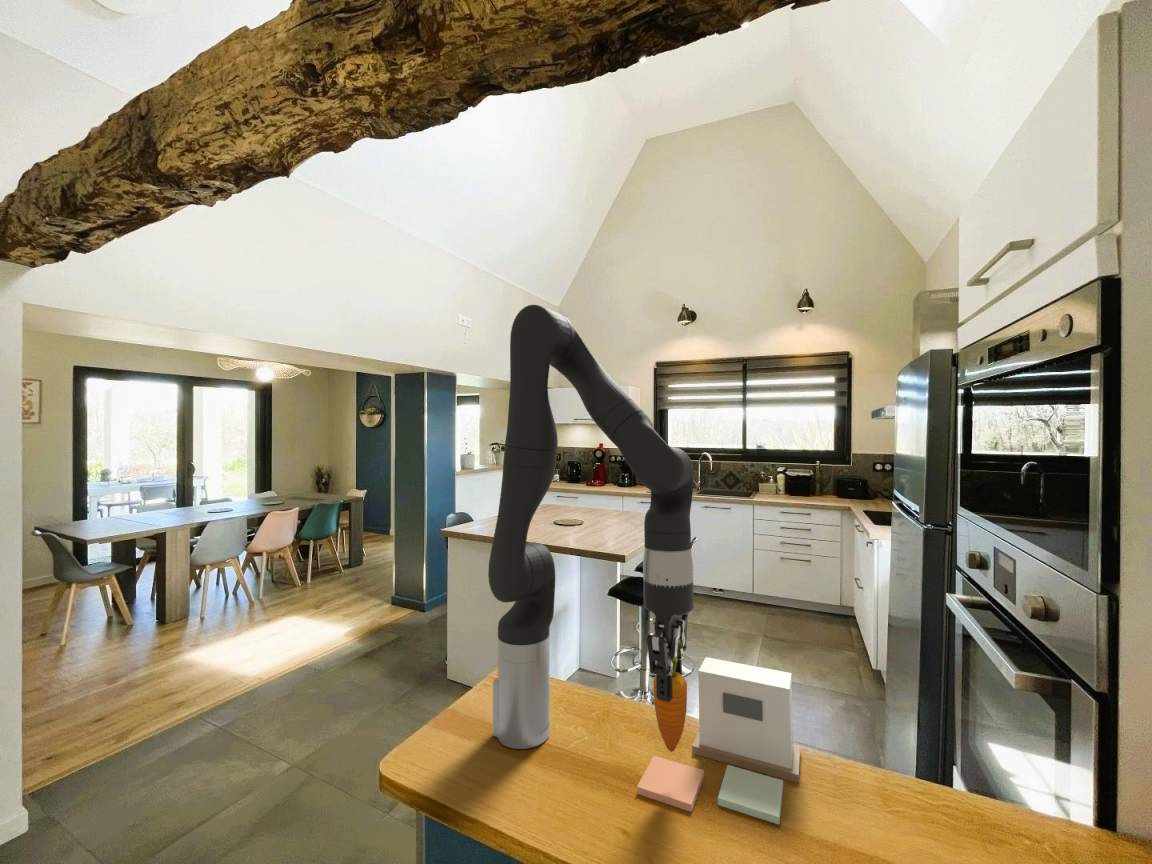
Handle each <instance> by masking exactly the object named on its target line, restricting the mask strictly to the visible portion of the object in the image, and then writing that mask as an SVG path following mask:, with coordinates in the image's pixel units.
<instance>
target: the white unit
mask: <svg viewBox="0 0 1152 864" xmlns="http://www.w3.org/2000/svg"><path fill="white" fill-rule="evenodd" d="M697 674H698V722H699V723H698V725H699V726H698V727H699V728H698V731H697V734H696V736H695V737H694V738H695V739H694V740H693V743H692V744H691V745H692V746H691V752H692V754H693V755H697V756H701V757H704V758H708V759H711V760H715V761H718V762H721V763H725V764H727V765H731V766H735V767H738V768H742V769H743V768H744V769H745V770H749V771H752V772H756V773H759V774H763V775H766V776H770V777H771V776H772V777H774V778H777V779H781V780H786V781H789V782H793V783H796V784H799V781H800V767H801V764H800V763H801V745H798V744H795V743H794V728H793V727H794V726H793V725H794V724H793V723H794V720H793V719H794V718H793V716H794V715H793V681H792V679H793V678H792V677H793V676H792V672H787V671H782V670H777V669H772V668H771V669H770V668H765V667H761V666H755V665H750V664H746V663H739V662H733V661H729V660H724V659H718V658H713V657H712V658H711V657H707V656H705V658H704V660H703V662H702V663H701V665H700V667H699V669H698V673H697ZM792 745H794V746H797V747H793V746H792ZM798 747H800V748H798Z"/></svg>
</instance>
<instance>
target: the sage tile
mask: <svg viewBox="0 0 1152 864" xmlns="http://www.w3.org/2000/svg"><path fill="white" fill-rule="evenodd" d="M783 792H784V779H781V778H777V777H774V776H772V777H771V776H770V775H767V774H763V773H759V772H756V771H752V770H749V769H745V768H744V769H743V768H742V767H738V766H735V765H731V764H727V765H726V768H725V773H724V776H723V780H722V782H721V786H720V789H719V792H718V796H717V806H720V807H723V808H726V809H729V810H732V811H736V812H738V813H742V814H744V815H748V816H751V817H755V818H757V819H760V820H763V821H765V822H769V823H773V824H776V825H778V826H779V825H780V824H781V823H780V822H781V815H782V814H781V811H782V805H783V802H782V801H783V794H784V793H783Z"/></svg>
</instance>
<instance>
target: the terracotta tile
mask: <svg viewBox="0 0 1152 864" xmlns="http://www.w3.org/2000/svg"><path fill="white" fill-rule="evenodd" d="M704 778H705V770H704V769H700V768H698V767H693V766H691V765H686V764H683V763H681V762H678V761H677V762H676V761H674V760H670V759H668V758H667V759H666V758H664V757H660V756H656V755H653V756H652V758H651V760H650V762H649V763H648V765H647V767H646V769H645V771H644V773H643V774H642V777H641V778H640V780H639V782H638V784H637V786H636V794H637V795H641V796H643V797H645V798H649V799H651V800H655V801H657V802H661V803H663V804H667V805H670V806H672V807H676V808H678V809H682V810H684V811H687V812H690V813H692V812H693V810H694V808H695V804H696V801H697V799H698V796H699V793H700V790H701V787H702V784H703V782H704Z"/></svg>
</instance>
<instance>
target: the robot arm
mask: <svg viewBox="0 0 1152 864" xmlns="http://www.w3.org/2000/svg"><path fill="white" fill-rule="evenodd" d="M509 337H510V340H509V341H510V342H509V363H510V364H509V365H510V367H509V369H510V370H509V371H510V373H509V375H510V378H509V379H510V380H509V381H510V382H509V384H510V385H509V398H508V399H509V400H508V410H507V411H508V412H507V426H506V435H505V442H504V451H503V461H502V478H501V486H500V487H501V488H500V495H499V496H500V497H499V504H498V513H497V518H496V523H495V524H496V525H495V529H494V533H493V539H492V544H491V549H490V555H489V561H488V574H487V575H488V584H489V588H490V590H491V593H492V595H493V596H494V598H495V599H497V601H499V602H500V603H513V602H514V603H513V605H512V606H511V608H510V609H509V610H508V611H507V612H506V613H504V615H502V617H501V618H500V619H499V621H498V624H497V677H496V678H494V679H493V680H492V681H493V682H492V736H493V737H495V738H497V740H498V741H499V742H500V743H501V745H503V746H504V747H507V748H510V749H515V750H525V749H527V750H529V749H531V748H535V747H538V746H540V745H542V744H543V743H545V742H546V741H547V739H548V738H549V736H550V729H551V728H550V724H551V723H550V722H551V720H550V712H551V711H550V700H551V699H550V695H551V693H550V690H551V688H550V687H551V686H550V682H551V681H550V675H551V674H550V670H551V669H550V662H551V661H550V659H551V657H550V656H551V655H550V653H551V652H550V627H551V624H552V622H553V618H554V613H555V595H556V593H555V592H556V567H555V562H554V558H553V555H552V553H551V551H550V550H549V548H548V547H547V546H545V545H544V544H543V543H541V542H527V540H528V533H529V529H530V525H531V523H532V520H533V517H534V515H535V513H536V511H537V510H538V508H539V506H540V504H541V503H542V501H543V499H544V498H545V496H546V494H547V492H548V490H549V488H550V487H551V485H552V482H553V480H554V477H555V472H556V467H557V466H556V464H557V456H558V455H557V454H558V443H559V442H558V441H559V440H558V431H557V427H556V422H555V418H554V415H553V411H552V408H551V404H550V399H549V388H548V387H549V377H550V376H549V375H550V374H549V373H550V366H551V367H552V368H554V369H555V370H556V371H557V372H559V373H560V374H561V375H563V376H564V378H566V379H567V380H568V382H570V384H571V385H572V386H573V388H574V389H575V390H576V392H577V394H578V396H579V397H580V400H581V402H582V404H583V405H584V408H585V410H586V411H587V412H588V415H589V416H590V418H591V419H592V421H594V423H595V424H596V425H597V427H598V428H599V429H600V430H601V431H602V432H603V434H604V435H605V436H606V437H607V438H608V439H609V440H610V442H611V443H612V444H613V445H614V446H615V447H617V449H618V450H619V452H620V453H621V455H622V457H623V459H624V460H625V463H626V464H627V466H628V467H629V468H630V470H631V472H632V473H633V474H634V476H635V477H636V478H637V480H638V481H640V483H641V484H642V485H643V486H644V487H645V488H647V489H648V490H650V505H649V509H648V510H647V511H646V513H645V516H644V524H643V526H644V530H643V531H644V532H643V533H644V552H643V559H642V564H643V566H642V572H643V573H642V575H643V576H642V577H643V578H642V579H643V581H642V582H643V583H642V584H643V607H644V608H645V609H646V610H647V611H649V612H650V613H652V614H654V617H655V618H654V621H653V623H652V628H651V629H652V630H651V631H652V632H651V633H652V634H647V635H646V645H647V654H648V663H649V664H648V665H649V672H650V674H651V675H655V676H656V689H657V698H658V699H659V700H663V701H668V702H670V701H671V699H672V698H673V690H672V673H673V659H674V658H676V657H677V660H678V661H677V666H676V670H675V672H678V673H680V674H681V675H682V676H683V659H684V657H685V653H684V652H686V650H687V638H688V637H687V636H688V617H689V613H691V612H692V611H693V610H694V607H695V602H694V601H695V599H694V597H695V596H694V593H695V592H694V590H695V589H694V563H693V562H694V561H693V560H694V559H693V556H692V555H693V554H692V533H691V532H692V530H691V510H692V502H693V493H694V492H693V491H694V465H693V463H692V462H693V461H692V459H691V457H689V455H688V453H686V451H684V450H682V449H680V448H679V447H676V446H675V447H673V446H670V445H669V444H668V442H666V441H665V440H664V439H663V438H662V436H660V434H659V433H658V432H657V431H656V430H655V429H654V427H653V421H651V419H650V418H649V416H648V415H647V414H646V413H645V412H644V411H643V410H642V408H640V407H639V405H638V404H637V403H636V402H635V401H634V400H633V399H632V398H631V397H630V396H629V394H628V393H626V392H625V390H623V388H622V387H621V386H620V385H619V384H618V383H617V382H616V381H615V380H614V379H613V378H612V376H611V375H610V374H608V372H607V371H606V370H605V368H604V367H603V366H602V365H601V364H600V362H599V360H598V359H596V357H595V356H594V354H593V353H592V352H591V350H590V349H589V347H588V346H587V344H586V343H585V342H584V341H585V340H584V339H583V338H582V336H581V334H579V332H578V329H576V328H575V326H574V325H573V323H572V322H571V320H570V319H568V318H567V317H566V316H564V315H563V314H561V313H558V311H554V310H553V309H550V308H548V307H545V306H542V305H539V304H529V305H527V306H523V308H522V309H520V310H519V312H518V313H517V314H516V315H515V317H514V320H513V322H512V325H511V330H510V336H509ZM667 648H668V651H669V652H667ZM660 662H662V664H663V665H660Z"/></svg>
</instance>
